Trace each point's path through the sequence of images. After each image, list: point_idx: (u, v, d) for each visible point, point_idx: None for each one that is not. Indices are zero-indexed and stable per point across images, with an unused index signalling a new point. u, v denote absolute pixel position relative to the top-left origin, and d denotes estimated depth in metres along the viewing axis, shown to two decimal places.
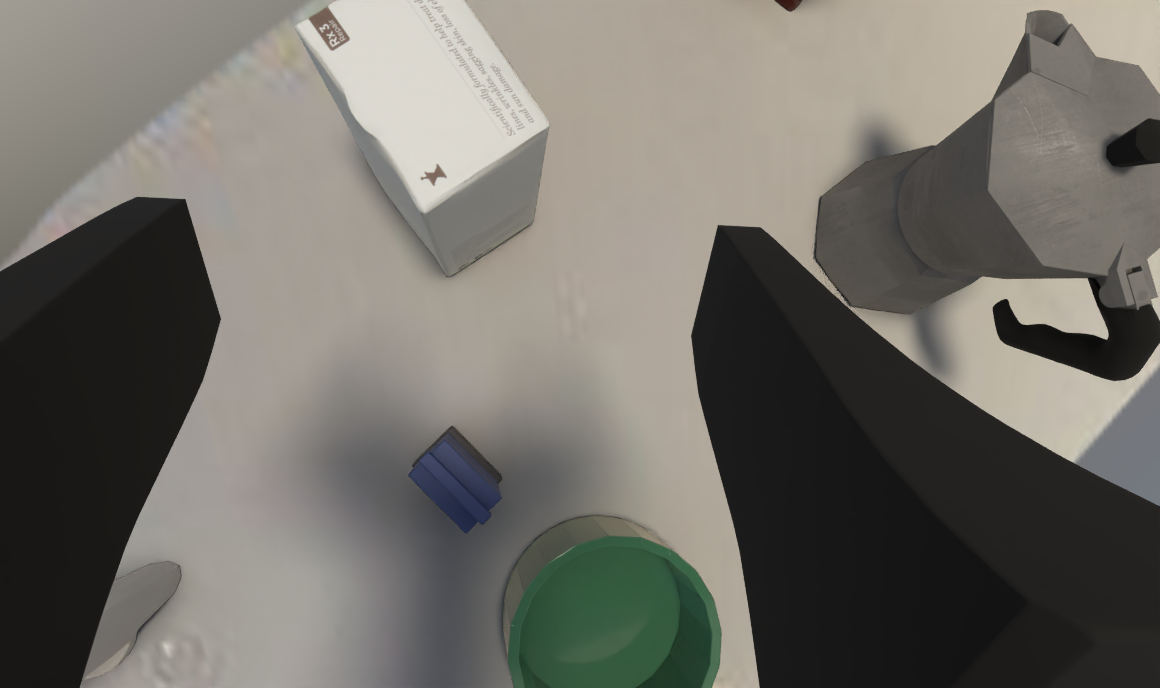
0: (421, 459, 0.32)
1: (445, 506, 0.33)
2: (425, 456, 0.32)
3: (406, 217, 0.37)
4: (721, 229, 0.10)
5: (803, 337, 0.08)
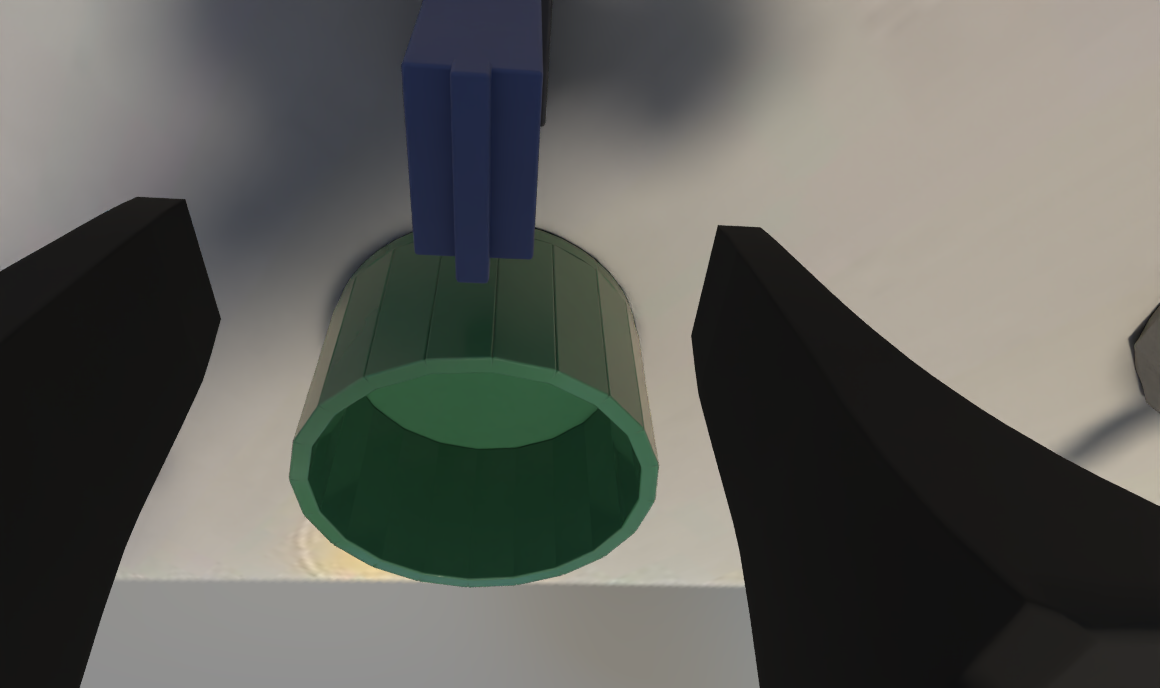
0: (460, 76, 0.11)
1: (420, 184, 0.13)
2: (474, 79, 0.11)
3: None
4: (721, 229, 0.10)
5: (803, 337, 0.08)
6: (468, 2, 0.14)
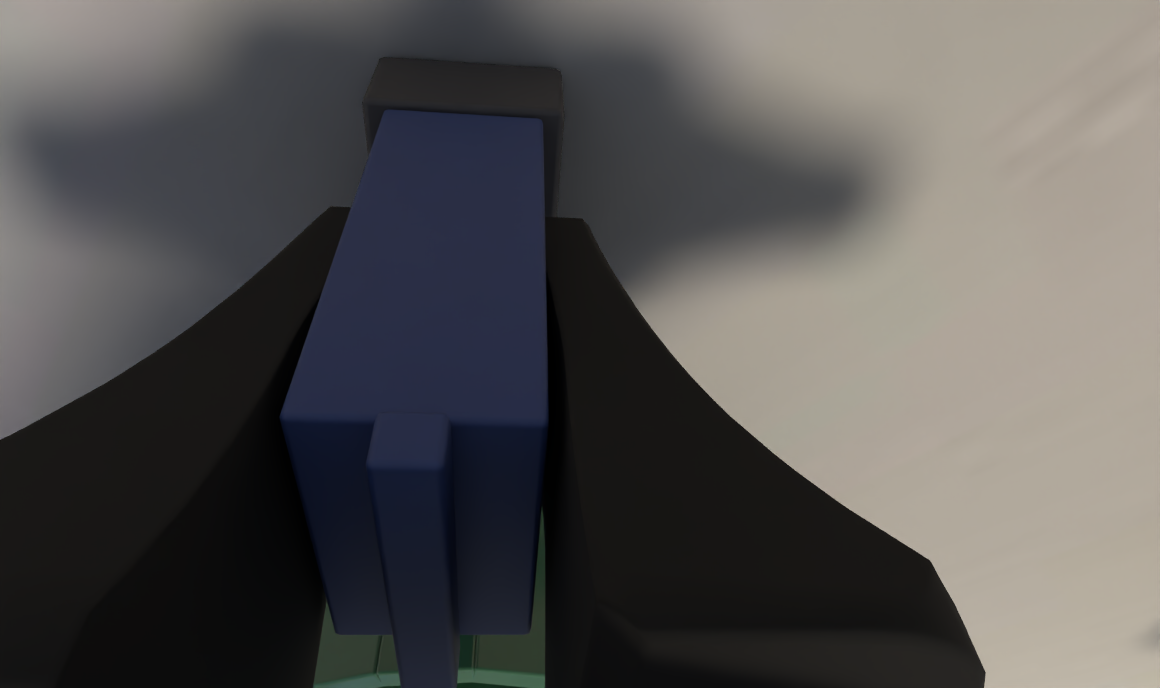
0: (385, 470, 0.06)
1: (333, 563, 0.07)
2: (413, 474, 0.06)
3: None
4: None
5: (564, 329, 0.08)
6: (423, 217, 0.08)
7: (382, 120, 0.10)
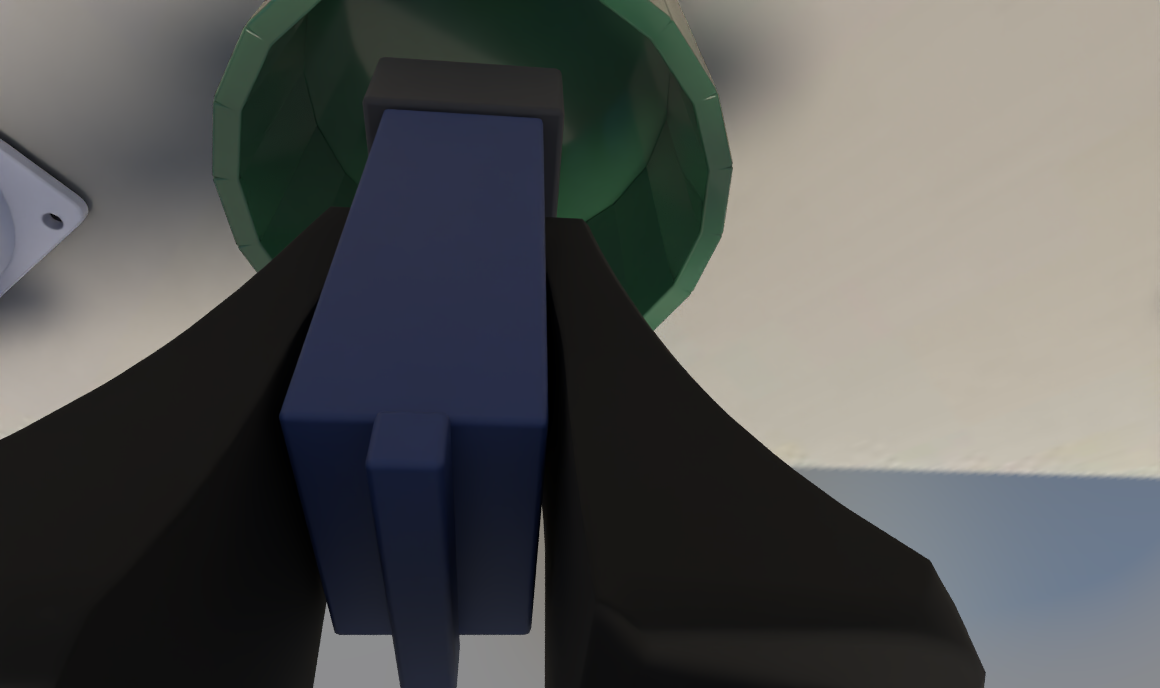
0: (384, 470, 0.06)
1: (333, 562, 0.07)
2: (412, 474, 0.06)
3: None
4: None
5: (564, 329, 0.08)
6: (423, 217, 0.08)
7: (382, 120, 0.10)
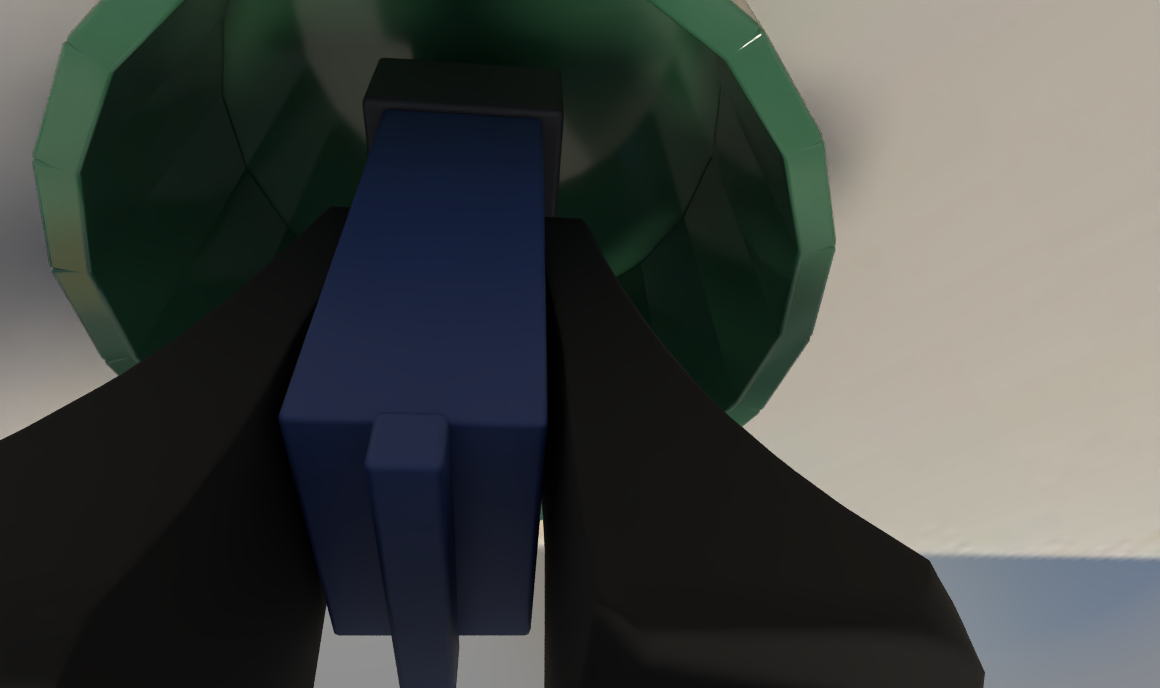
0: (384, 471, 0.06)
1: (332, 564, 0.07)
2: (412, 475, 0.06)
3: None
4: None
5: (564, 329, 0.08)
6: (423, 218, 0.08)
7: (382, 120, 0.10)
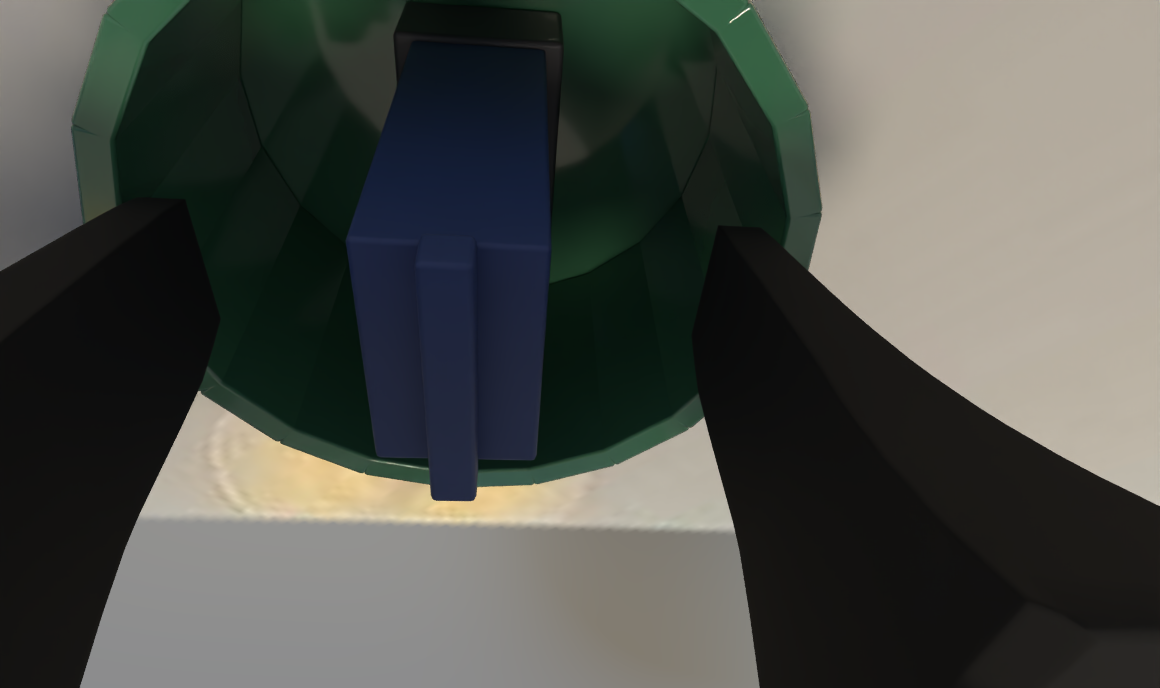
0: (429, 268, 0.08)
1: (380, 381, 0.09)
2: (450, 272, 0.08)
3: None
4: (720, 229, 0.10)
5: (803, 337, 0.08)
6: (449, 116, 0.10)
7: (410, 49, 0.12)
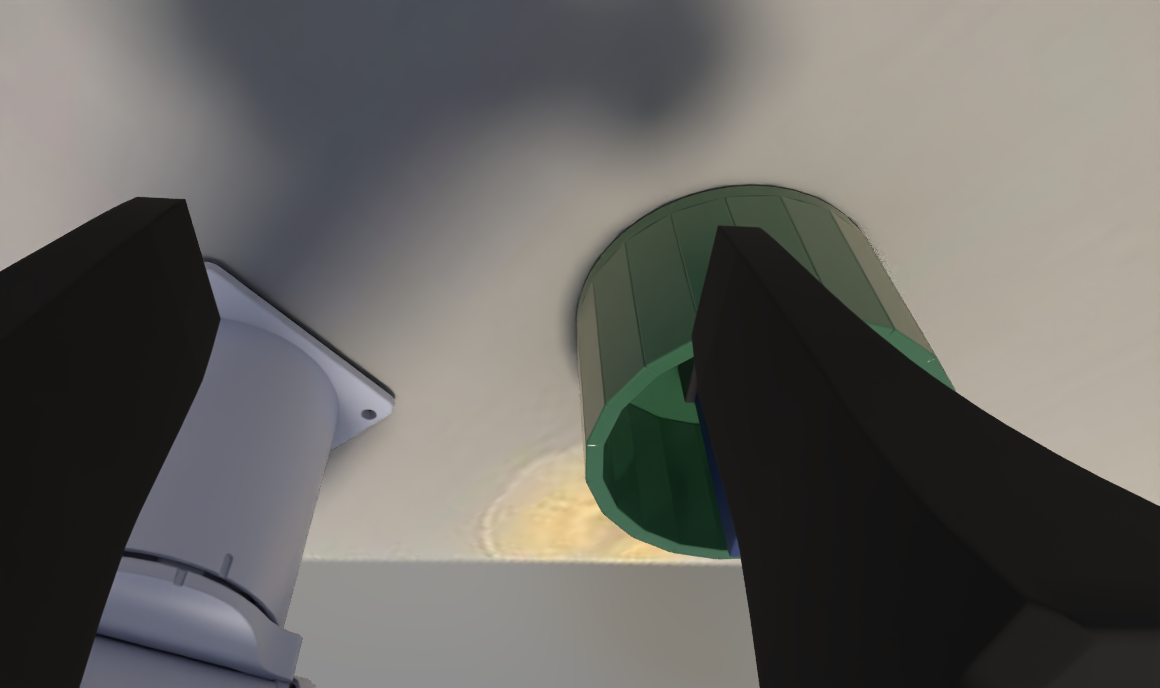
0: None
1: None
2: None
3: None
4: (721, 229, 0.10)
5: (803, 337, 0.08)
6: None
7: None
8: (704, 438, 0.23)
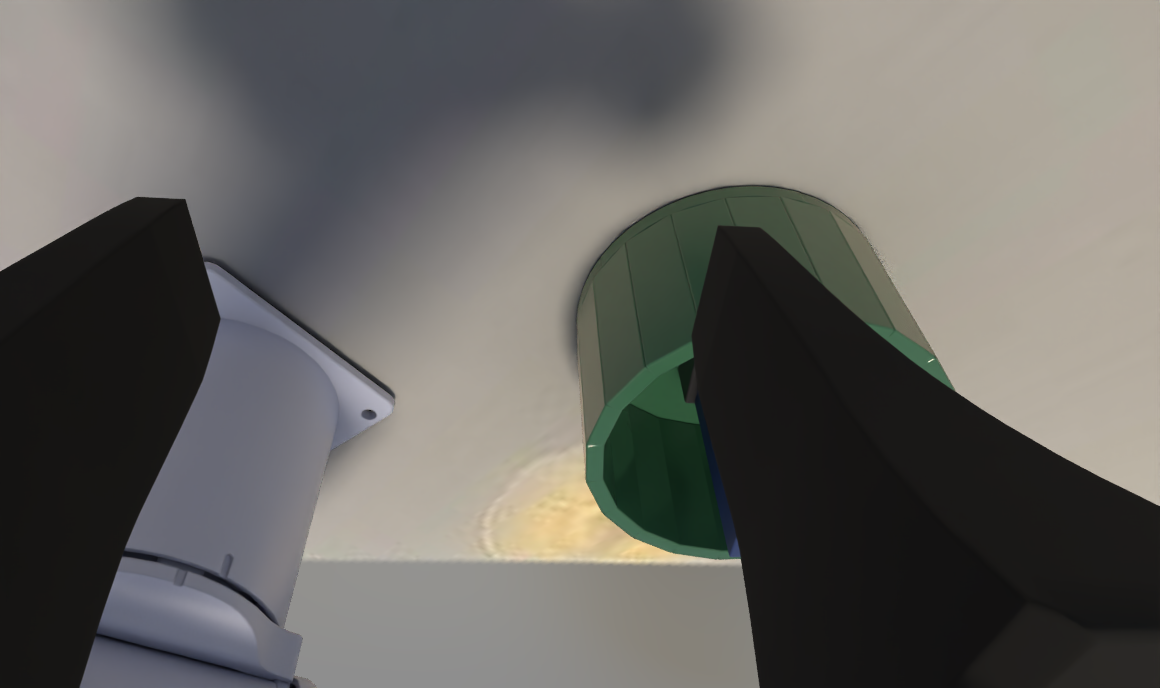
0: None
1: None
2: None
3: None
4: (721, 229, 0.10)
5: (803, 337, 0.08)
6: None
7: None
8: (704, 438, 0.23)
